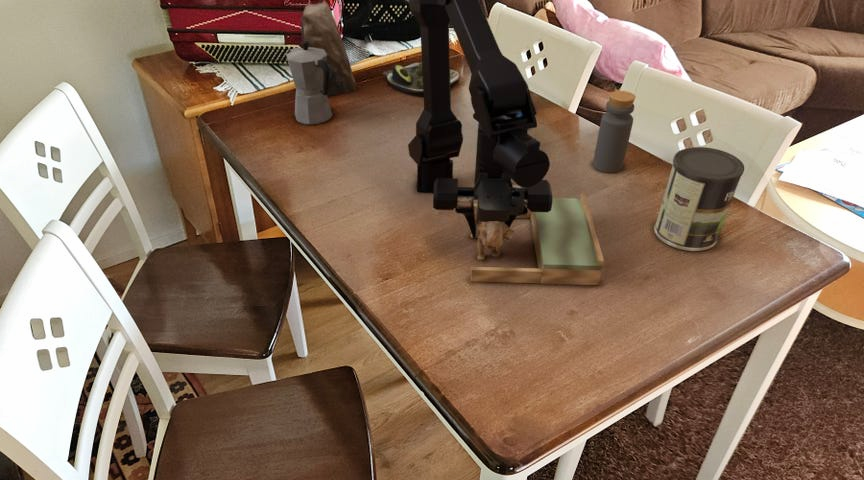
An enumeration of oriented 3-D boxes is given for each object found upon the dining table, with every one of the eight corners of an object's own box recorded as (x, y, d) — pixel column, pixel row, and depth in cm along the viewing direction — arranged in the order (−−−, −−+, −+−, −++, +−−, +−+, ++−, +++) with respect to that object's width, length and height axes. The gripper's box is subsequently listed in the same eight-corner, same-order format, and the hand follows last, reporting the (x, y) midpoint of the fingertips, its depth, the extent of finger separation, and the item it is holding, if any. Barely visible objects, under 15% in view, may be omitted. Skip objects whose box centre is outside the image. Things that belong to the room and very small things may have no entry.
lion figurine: (514, 268, 102) (518, 223, 96) (483, 273, 101) (485, 229, 95) (487, 218, 113) (488, 176, 107) (458, 223, 112) (458, 181, 107)
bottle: (588, 159, 128) (601, 90, 118) (616, 157, 128) (631, 88, 119) (598, 174, 123) (612, 103, 114) (627, 171, 124) (644, 100, 114)
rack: (470, 281, 100) (472, 257, 97) (469, 214, 114) (470, 191, 111) (598, 285, 98) (604, 260, 95) (580, 216, 112) (585, 193, 109)
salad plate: (424, 61, 173) (424, 44, 170) (474, 77, 163) (475, 59, 160) (375, 82, 163) (374, 65, 160) (425, 101, 153) (425, 83, 150)
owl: (310, 100, 156) (300, 18, 143) (296, 82, 165) (286, 4, 152) (357, 90, 159) (351, 10, 147) (341, 73, 168) (334, -4, 156)
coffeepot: (283, 113, 151) (271, 38, 139) (315, 102, 155) (307, 29, 144) (316, 135, 141) (307, 57, 130) (350, 122, 145) (344, 46, 134)
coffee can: (721, 225, 109) (747, 154, 100) (713, 258, 102) (741, 184, 93) (659, 211, 113) (679, 141, 104) (648, 241, 106) (668, 169, 97)
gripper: (432, 181, 90) (431, 264, 100) (563, 184, 88) (548, 268, 98) (434, 145, 99) (433, 224, 109) (554, 146, 97) (541, 227, 107)
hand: (487, 236), depth 105 cm, fingers closed on lion figurine, 4 cm apart
